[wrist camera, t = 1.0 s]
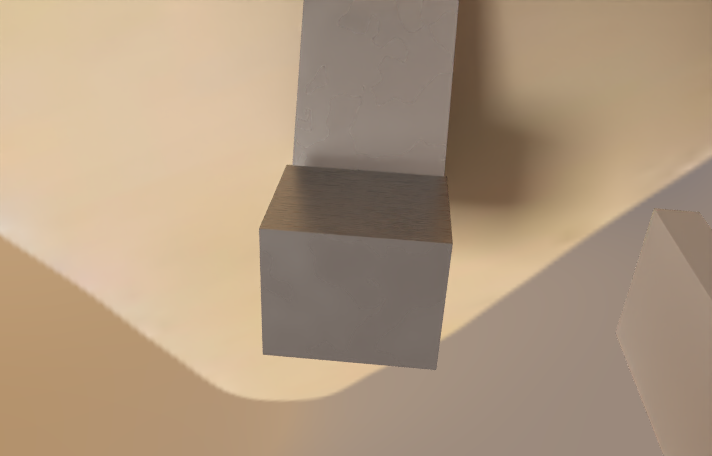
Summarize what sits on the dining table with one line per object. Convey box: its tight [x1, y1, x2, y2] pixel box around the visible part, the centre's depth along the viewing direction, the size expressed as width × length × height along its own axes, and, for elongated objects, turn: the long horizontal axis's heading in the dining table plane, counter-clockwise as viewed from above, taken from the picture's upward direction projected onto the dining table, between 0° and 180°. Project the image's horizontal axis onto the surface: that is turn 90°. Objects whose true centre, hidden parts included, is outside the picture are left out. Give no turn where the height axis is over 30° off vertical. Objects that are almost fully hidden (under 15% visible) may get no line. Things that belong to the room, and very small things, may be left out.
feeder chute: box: [259, 0, 459, 370], centre depth 26 cm, size 12×6×12 cm, turn 178°
